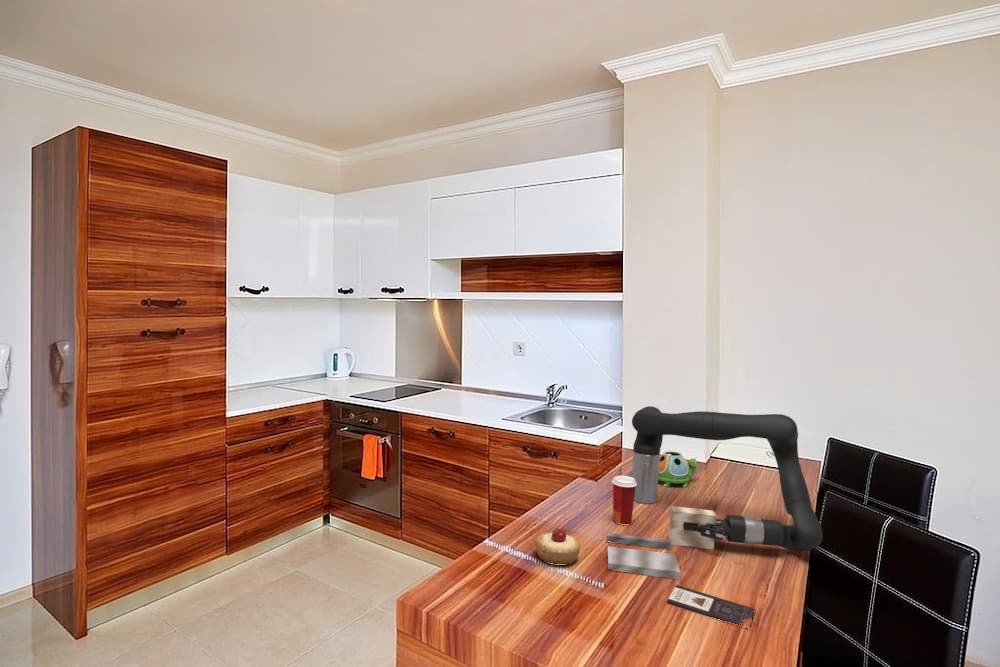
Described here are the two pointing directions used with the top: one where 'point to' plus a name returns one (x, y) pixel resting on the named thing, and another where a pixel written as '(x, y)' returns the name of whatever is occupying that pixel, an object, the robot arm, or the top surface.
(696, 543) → the beige rectangular block
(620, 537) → the mating board
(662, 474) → the turtle holder
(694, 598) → the chocolate bar
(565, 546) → the pastry
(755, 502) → the top surface
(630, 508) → the paper cup
